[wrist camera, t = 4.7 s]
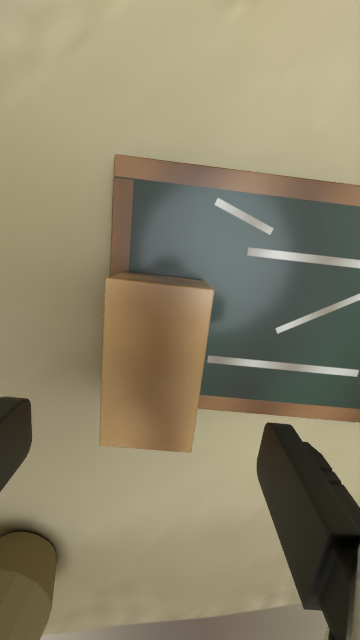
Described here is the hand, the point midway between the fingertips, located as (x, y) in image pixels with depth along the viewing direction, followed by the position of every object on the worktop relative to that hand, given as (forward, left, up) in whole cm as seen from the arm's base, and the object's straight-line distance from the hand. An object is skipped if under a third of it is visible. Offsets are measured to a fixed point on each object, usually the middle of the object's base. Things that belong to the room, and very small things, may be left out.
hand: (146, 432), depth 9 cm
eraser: (0, 0, -9) cm, 9 cm away
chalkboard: (+7, +3, -10) cm, 13 cm away
